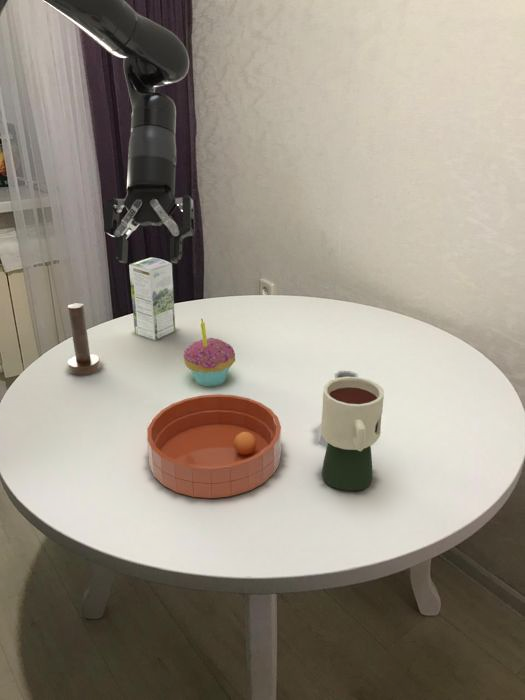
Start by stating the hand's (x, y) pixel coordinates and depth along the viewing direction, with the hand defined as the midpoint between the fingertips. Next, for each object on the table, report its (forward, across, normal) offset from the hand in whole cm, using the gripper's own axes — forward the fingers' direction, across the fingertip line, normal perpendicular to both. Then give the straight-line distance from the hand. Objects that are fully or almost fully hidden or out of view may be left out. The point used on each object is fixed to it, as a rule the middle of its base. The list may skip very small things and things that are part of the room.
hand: (148, 262), depth 93 cm
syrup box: (+10, -6, +22) cm, 25 cm away
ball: (+27, +19, -11) cm, 34 cm away
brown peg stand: (+17, -13, +7) cm, 23 cm away
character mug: (+31, +32, -12) cm, 46 cm away
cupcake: (+19, +9, +7) cm, 22 cm away
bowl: (+29, +15, -11) cm, 34 cm away
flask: (+26, +31, -4) cm, 41 cm away
